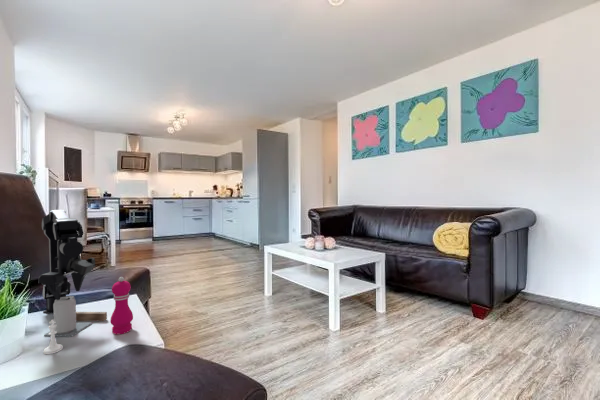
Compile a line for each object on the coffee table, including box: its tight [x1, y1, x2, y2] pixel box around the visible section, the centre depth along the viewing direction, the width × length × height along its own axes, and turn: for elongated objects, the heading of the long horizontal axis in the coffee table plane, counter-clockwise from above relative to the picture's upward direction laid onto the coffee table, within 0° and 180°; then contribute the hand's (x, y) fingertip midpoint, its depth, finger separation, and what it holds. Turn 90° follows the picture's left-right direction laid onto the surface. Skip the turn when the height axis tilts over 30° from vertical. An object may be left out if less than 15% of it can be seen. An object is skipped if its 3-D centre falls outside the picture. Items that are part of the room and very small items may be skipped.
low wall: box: [76, 311, 108, 322], centre depth 120 cm, size 20×2×3 cm, turn 89°
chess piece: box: [42, 318, 64, 355], centre depth 98 cm, size 5×5×10 cm
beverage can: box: [53, 295, 77, 334], centre depth 110 cm, size 6×6×12 cm
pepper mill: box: [110, 276, 134, 335], centre depth 111 cm, size 7×7×20 cm
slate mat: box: [43, 322, 93, 338], centre depth 112 cm, size 10×10×1 cm
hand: (68, 295), depth 112 cm, fingers open, 9 cm apart
